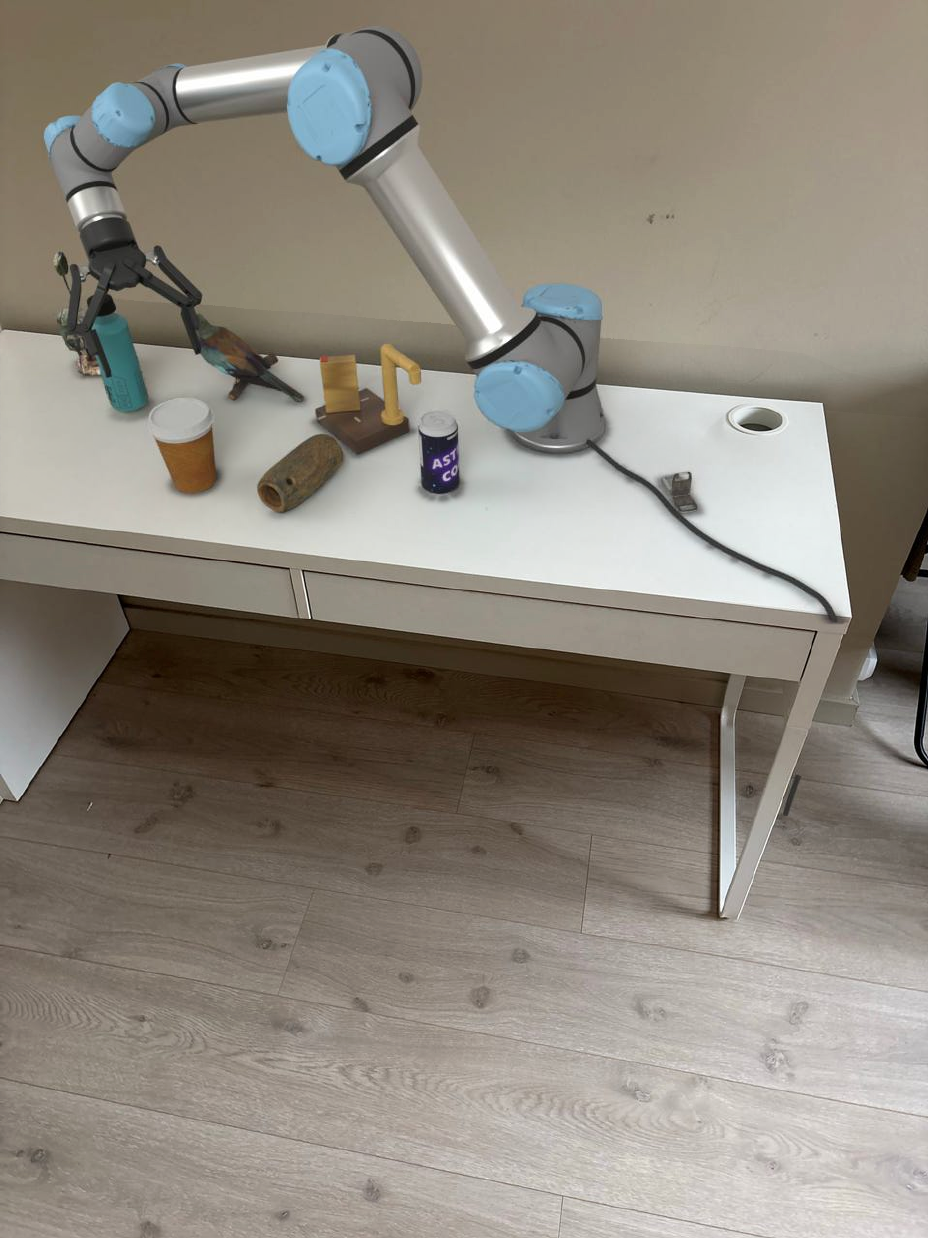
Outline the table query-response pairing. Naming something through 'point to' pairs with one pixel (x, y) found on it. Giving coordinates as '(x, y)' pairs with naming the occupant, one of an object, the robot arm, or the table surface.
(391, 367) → the tap spout
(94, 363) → the plant with pod
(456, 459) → the beverage can
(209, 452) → the disposable coffee cup
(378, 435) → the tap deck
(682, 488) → the strap clip
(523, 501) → the table surface
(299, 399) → the bird figurine
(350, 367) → the tap handle
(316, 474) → the brown cylindrical piece
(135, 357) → the beverage bottle
